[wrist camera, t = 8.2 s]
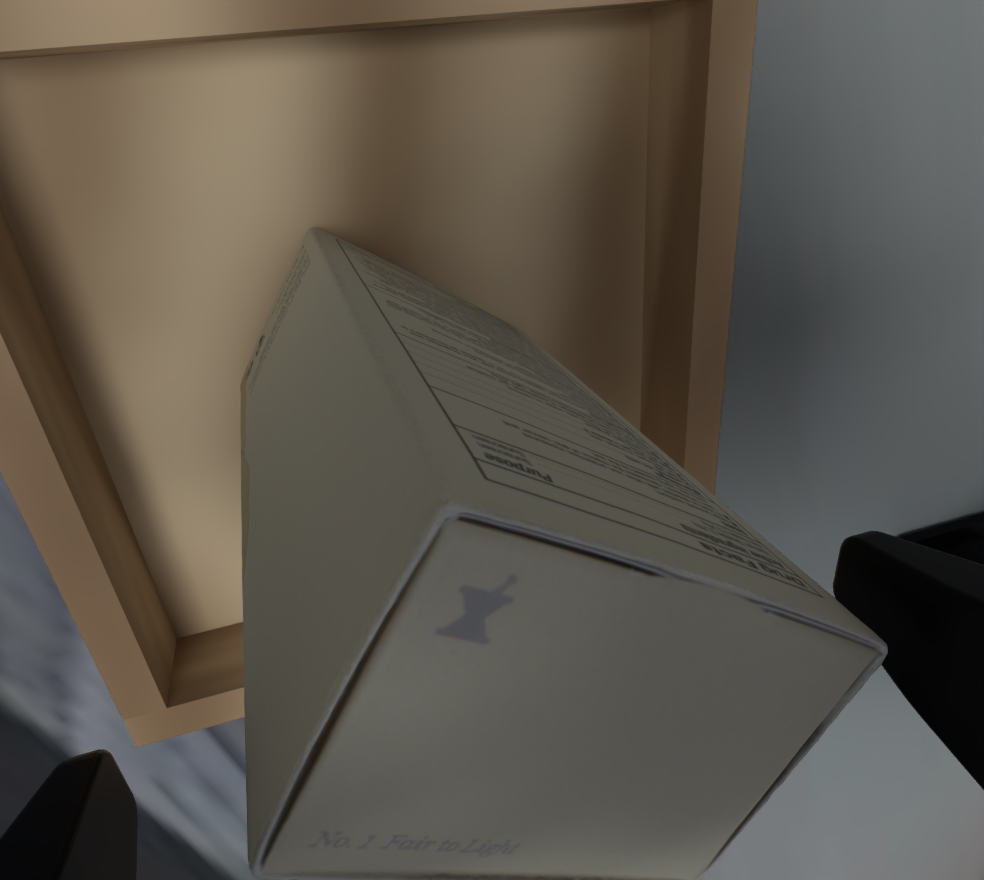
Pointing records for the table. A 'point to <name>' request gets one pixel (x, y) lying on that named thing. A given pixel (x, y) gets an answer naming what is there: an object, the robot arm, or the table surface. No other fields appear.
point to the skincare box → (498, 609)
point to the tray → (349, 216)
